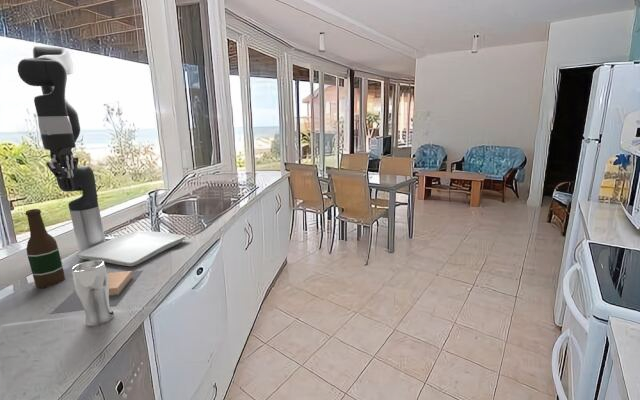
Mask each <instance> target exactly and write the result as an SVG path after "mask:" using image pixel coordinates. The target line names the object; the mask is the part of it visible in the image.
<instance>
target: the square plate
mask: <svg viewBox="0 0 640 400" xmlns="http://www.w3.org/2000/svg"><path fill="white" fill-rule="evenodd" d="M185 238H187V235H184V234H177V233H170V232H161V231H153V230H152V231H150V230H138V229H137V230H134V231H131V232H128V233H125V234H122V235H119V236H115V237H114V238H111V239H109V240H106V242H103V243H101V244H98V245H96V246H94V247H91V248H89V249H87V250H84V251H82V252H79V251H78V253H75V256H77V257H78V258H81V259H85V260H87V261H90V260H103V261H104V263H109V264H114V265H119V266H125V267H134V266H137V265H140V264H142V263H143V262H145V261H146V260H149V259H150V258H153V257H154V256H157V255H158V254H160V253H162V252H165V251H166V250H168V249H171V248H172V247H174V246H176V245H179V244H180V243H181V242H182V241H183V240H185Z"/></svg>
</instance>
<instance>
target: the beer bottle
mask: <svg viewBox="0 0 640 400" xmlns="http://www.w3.org/2000/svg"><path fill="white" fill-rule="evenodd" d="M41 213H42V211H41V209H39V208H33V209H29V210H26V211H25V216H26V217H27V222H28V227H29V233H30V234H29V235H30V236H29V239H28V241H27V245H26V255H27V258H28V263H29V266H30V267H29V268H30V269H31V270H30V271H31V274H32V277H33V281H34V284H35V288H37V289H46V288H47V287H51V286H53V285H58V284H60V283H61V282H63V281H64V280H65V279H66V277H65V270H64V267H63V263H62V258H61V256H60V254H61V253H60V250H59V247H58V243H57V240H56V239H55V238H54V237H53V236H52V235H50V234H49V233H48V231H47V229H46V227H45V224H44V223H45V222H44V221H43V217H42V215H41Z"/></svg>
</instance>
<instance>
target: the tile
mask: <svg viewBox="0 0 640 400" xmlns="http://www.w3.org/2000/svg"><path fill="white" fill-rule="evenodd" d="M132 271H133V270H126V271H117V272H107V274H108V279H109V296H116V295H119V294H120V292H121V291H122V290H123V289H124V287H125V286H126V285H127V284H128V282H129V281H130V280H131V279H132V277H133V276H132Z"/></svg>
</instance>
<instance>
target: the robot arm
mask: <svg viewBox="0 0 640 400" xmlns="http://www.w3.org/2000/svg"><path fill="white" fill-rule="evenodd" d="M72 54H73V53H71V51H70V50H69V49H68V48H66V47H62V46H54V45H53V46H52V45H34V46H33V47H32V57H31V58H29V57H28V58H24V59H23V58H22V59H21V60H20V61H19V62H18V65H17V73H18V77H19V78H20V80H21V81H22V82H23V83H25V84H27V85H29V86H33V87H40V88H41V93H42V94H40V95H36V96H35V97H34V99H33V103H34V107H35V111H36V115H37V121H38V128H39V134H40V136H41V142H42V146H43V149H44V150H45V151H46V150H47V151H49V153H50V154H49V157H50V161H46V166H47V168H48V169H49V170H50V171H51V173H52V174H53V176H54V177H55V178H56V181H57V187H59V188H60V190H61V191H62V192H66V193H68V192H82V193H81V196H79V198H76V199H73V200H71V201H70V202H68V210H69V213H70V217H71V223H72V227H73V231H74V235H75V240H76V244H77V249H78V253H79V252H82V251H84V250H87V249H89V248H91V247H94V246H96V245H98V244H101V243H103V242H106V241H107V239H106V236H105V231H104V226H103V222H102V216H101V212H100V207H99V200H98V192H97V185H96V178H95V174H94V171H93V169H92V168H91V167H90V166H88V165H82V166H81V165H80V166H79V161H80V160H79V158H78V157H76V156H74V154H73V151H72V149H75V148H76V142H77V140H78V139H79V136H80V134H81V125H80V120H79V114H78V112H77V110H76V109H75V108H74V106H73V105H72V104H71V103H70V102H69V101H68V100H67V99H66V89H67V87H66V86H67V79H68V76H69V75H72V74H73V73H74V72H75V69H76V68H75V61H74V57H73V55H72Z"/></svg>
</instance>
